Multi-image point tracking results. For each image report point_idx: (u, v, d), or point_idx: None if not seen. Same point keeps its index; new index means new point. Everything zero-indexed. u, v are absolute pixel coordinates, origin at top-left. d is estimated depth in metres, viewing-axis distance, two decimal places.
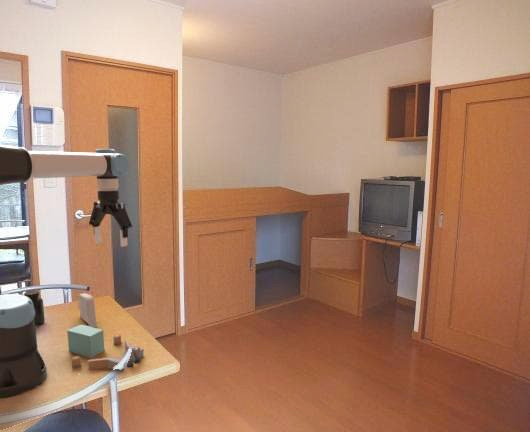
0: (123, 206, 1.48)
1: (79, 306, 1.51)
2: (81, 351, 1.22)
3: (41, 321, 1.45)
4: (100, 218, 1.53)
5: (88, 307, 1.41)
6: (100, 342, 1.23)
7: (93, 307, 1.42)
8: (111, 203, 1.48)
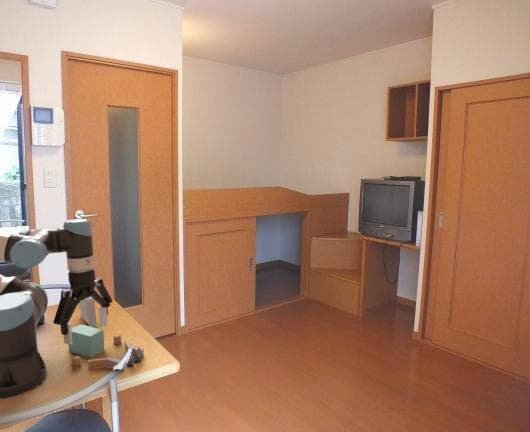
0: (64, 295, 1.16)
1: (79, 306, 1.51)
2: (81, 351, 1.22)
3: (41, 321, 1.45)
4: (95, 299, 1.27)
5: (88, 307, 1.41)
6: (100, 342, 1.23)
7: (93, 307, 1.42)
8: None
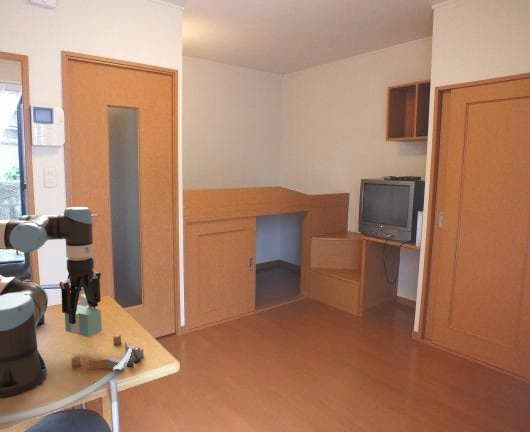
0: (64, 287, 1.16)
1: None
2: None
3: (41, 321, 1.45)
4: (86, 293, 1.25)
5: None
6: (97, 322, 1.22)
7: None
8: None
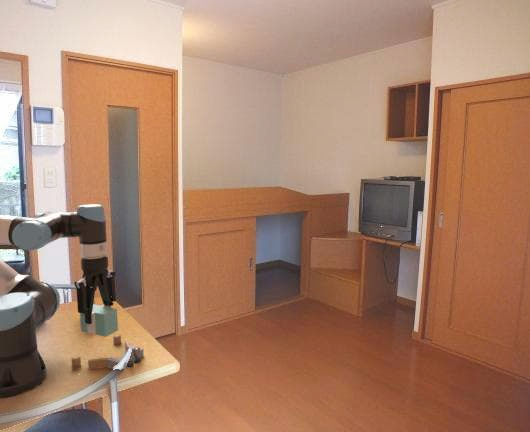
0: (79, 286, 1.13)
1: None
2: None
3: None
4: (101, 292, 1.22)
5: None
6: (113, 321, 1.20)
7: None
8: None
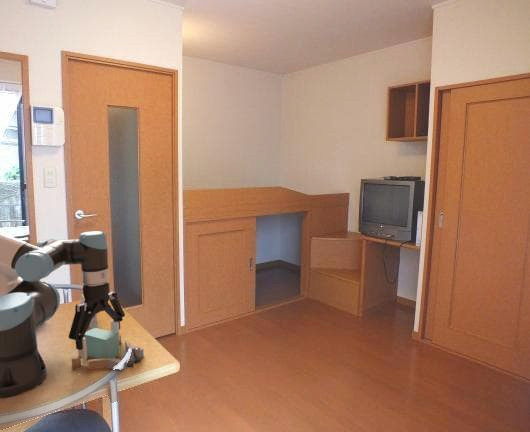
0: (79, 309, 1.14)
1: None
2: (96, 355, 1.20)
3: None
4: (108, 313, 1.25)
5: None
6: (115, 346, 1.21)
7: None
8: None
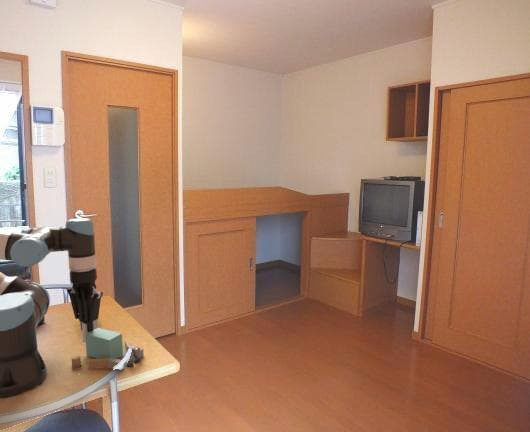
0: (100, 296, 1.20)
1: None
2: (100, 355, 1.19)
3: (41, 321, 1.45)
4: (83, 306, 1.23)
5: None
6: (118, 346, 1.21)
7: None
8: (88, 286, 1.19)
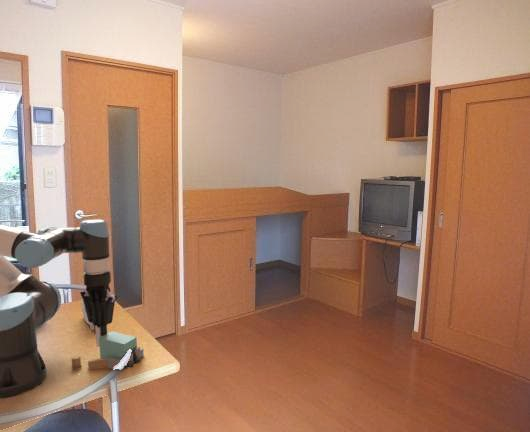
0: (114, 299, 1.18)
1: (82, 307, 1.50)
2: None
3: None
4: (96, 309, 1.20)
5: None
6: None
7: None
8: (102, 289, 1.17)
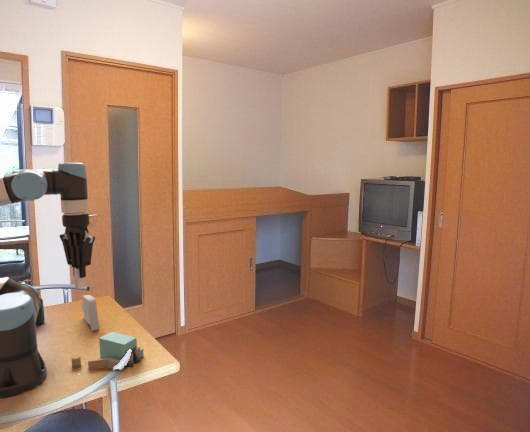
0: (92, 241, 1.20)
1: (82, 308, 1.49)
2: None
3: (41, 321, 1.45)
4: (75, 252, 1.22)
5: (90, 309, 1.39)
6: None
7: (95, 309, 1.40)
8: (80, 230, 1.19)
